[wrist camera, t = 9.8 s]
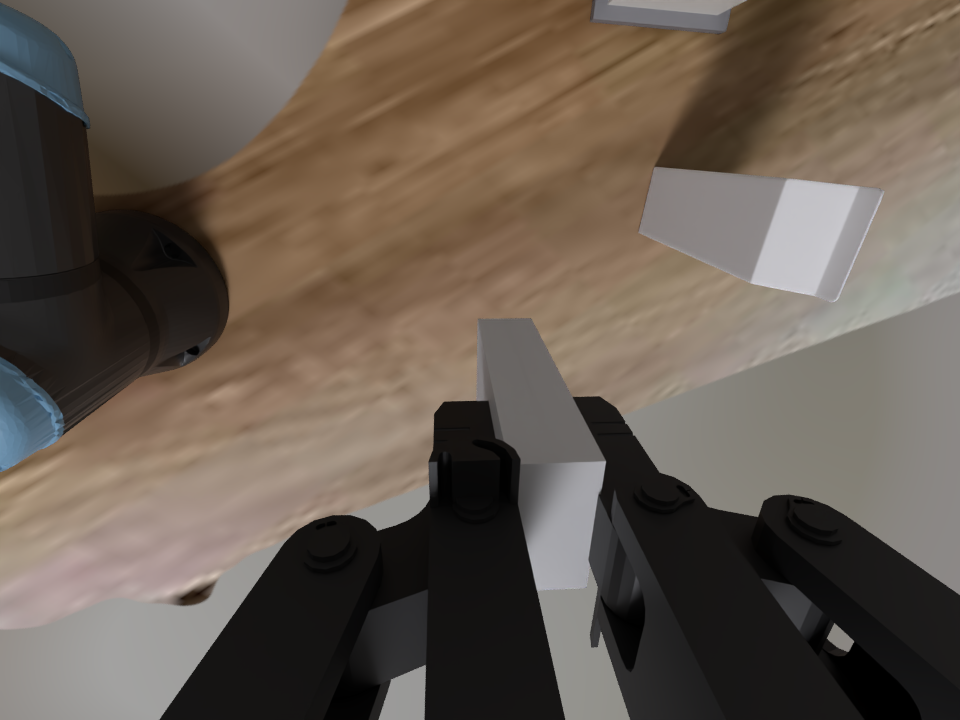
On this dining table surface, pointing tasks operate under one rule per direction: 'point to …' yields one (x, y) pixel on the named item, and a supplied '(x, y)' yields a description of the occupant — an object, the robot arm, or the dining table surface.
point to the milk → (762, 226)
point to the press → (666, 14)
